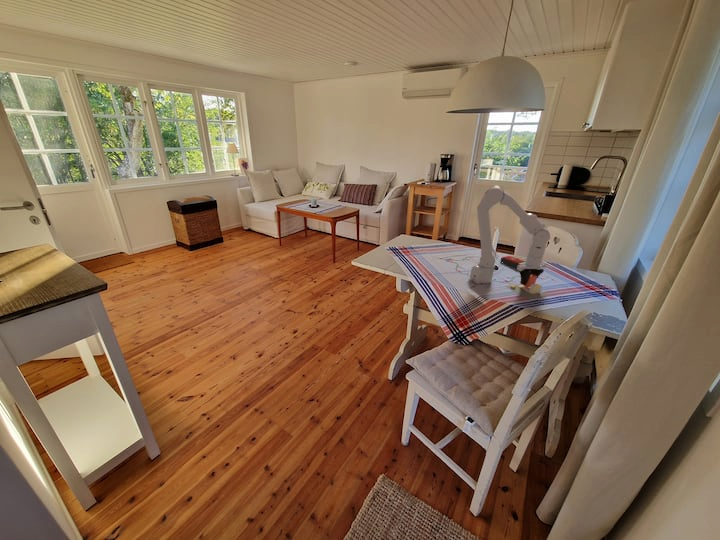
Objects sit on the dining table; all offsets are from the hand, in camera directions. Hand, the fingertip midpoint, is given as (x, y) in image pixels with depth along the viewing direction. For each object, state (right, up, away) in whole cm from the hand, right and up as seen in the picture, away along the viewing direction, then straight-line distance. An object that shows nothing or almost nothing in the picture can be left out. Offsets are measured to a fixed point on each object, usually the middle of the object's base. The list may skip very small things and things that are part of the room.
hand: (527, 283), depth 130 cm
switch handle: (+1, -4, -3) cm, 5 cm away
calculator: (+11, +8, +28) cm, 31 cm away
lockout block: (0, -1, 0) cm, 1 cm away
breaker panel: (-1, -5, -1) cm, 5 cm away
